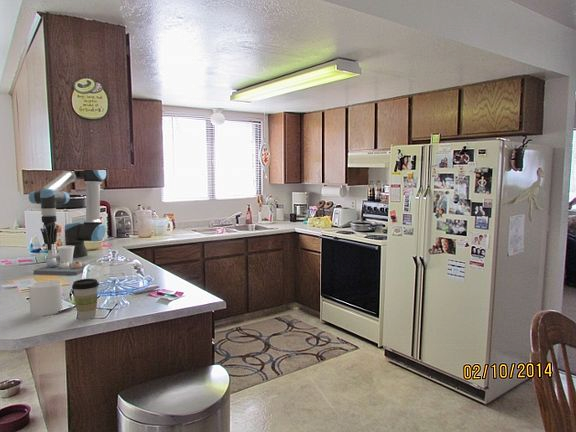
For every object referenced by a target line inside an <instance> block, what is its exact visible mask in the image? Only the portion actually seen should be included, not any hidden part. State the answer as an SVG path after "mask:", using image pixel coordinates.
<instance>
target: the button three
mask: <svg viewBox="0 0 576 432" xmlns="http://www.w3.org/2000/svg"><path fill="white" fill-rule="evenodd" d="M72 264H73V269H81V268H82V264H83V263H82V262H81V261H75V262H72Z"/></svg>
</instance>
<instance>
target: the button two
mask: <svg viewBox="0 0 576 432" xmlns="http://www.w3.org/2000/svg"><path fill="white" fill-rule="evenodd" d="M59 264H60V269H67V268H69V262H61V261H60V262H59Z"/></svg>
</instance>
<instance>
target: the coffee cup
mask: <svg viewBox="0 0 576 432" xmlns="http://www.w3.org/2000/svg"><path fill="white" fill-rule="evenodd" d="M99 285H100V283H99V282H98V279H96V278H82V279H77V280H75V281H73V284H72V285H71V289H73V297H74V302H75V308H76V311H77V317H78V319H80V321H89V320H93V319H94V317H95V316H97V315H96V314H97V305H98V294H99V292H98V288H99ZM92 318H93V319H92ZM95 318H96V317H95ZM88 319H89V320H88Z"/></svg>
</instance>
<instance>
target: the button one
mask: <svg viewBox="0 0 576 432" xmlns="http://www.w3.org/2000/svg"><path fill="white" fill-rule="evenodd" d="M56 264H57V257H48V258H46V266H47V267H55V266H57V265H56Z"/></svg>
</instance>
